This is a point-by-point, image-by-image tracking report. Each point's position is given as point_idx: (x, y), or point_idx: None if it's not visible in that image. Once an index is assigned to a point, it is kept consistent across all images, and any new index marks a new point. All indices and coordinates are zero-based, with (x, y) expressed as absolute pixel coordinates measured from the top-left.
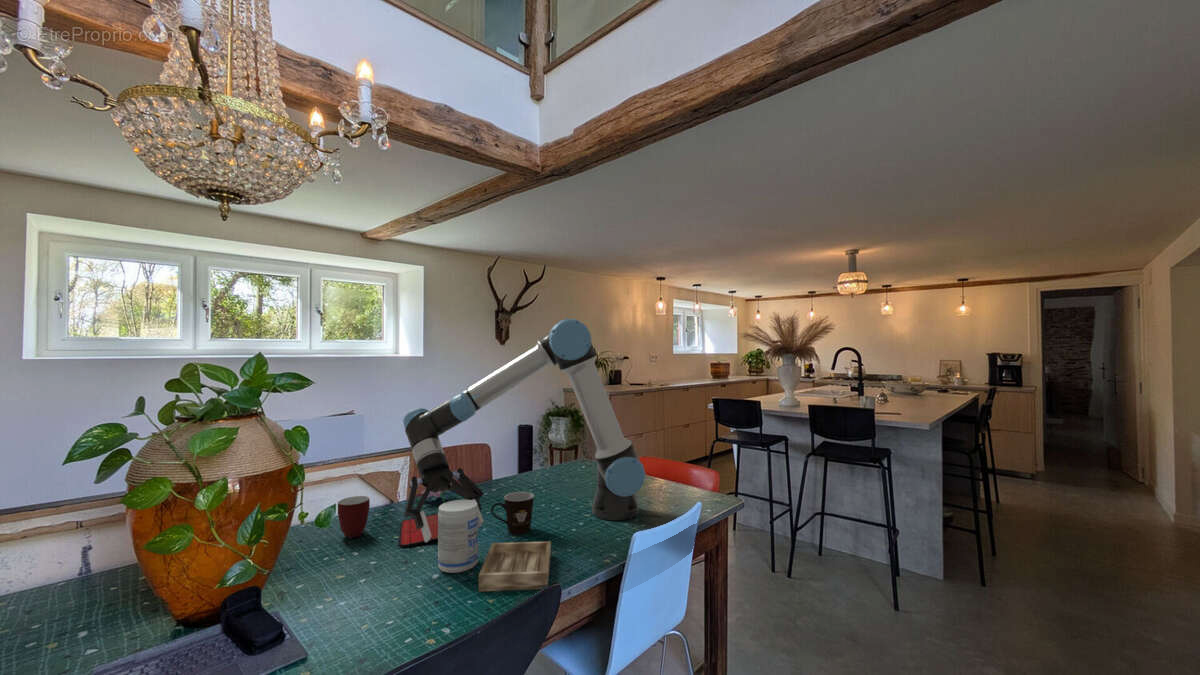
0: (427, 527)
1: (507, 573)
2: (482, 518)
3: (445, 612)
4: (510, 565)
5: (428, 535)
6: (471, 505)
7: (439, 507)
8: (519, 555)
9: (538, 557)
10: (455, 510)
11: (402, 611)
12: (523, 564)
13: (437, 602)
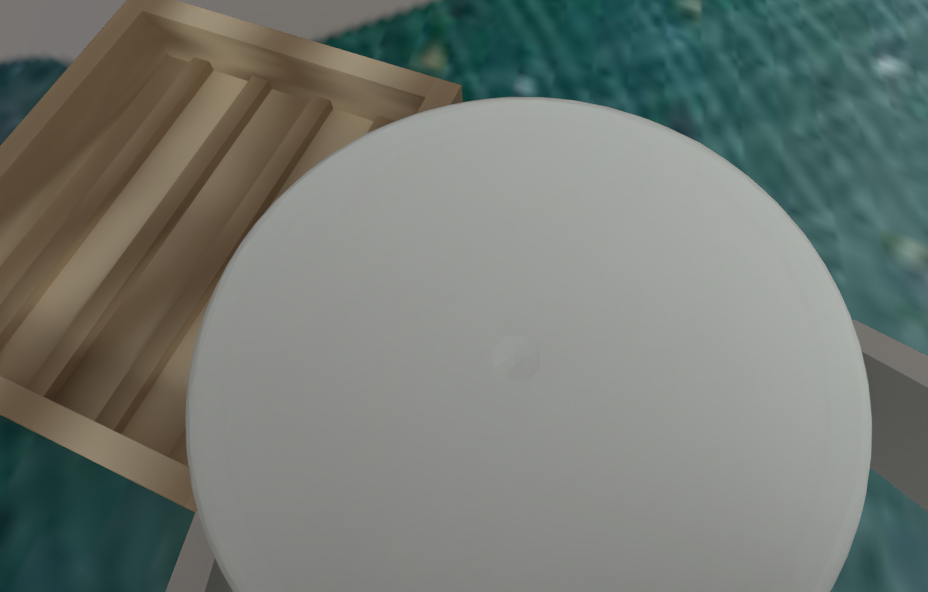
0: (914, 366)
1: (312, 49)
2: (189, 535)
3: (642, 48)
4: (227, 248)
5: (859, 324)
6: (325, 236)
7: (861, 379)
8: (100, 392)
9: (30, 276)
10: (597, 122)
11: (845, 121)
12: (156, 229)
13: (676, 131)
